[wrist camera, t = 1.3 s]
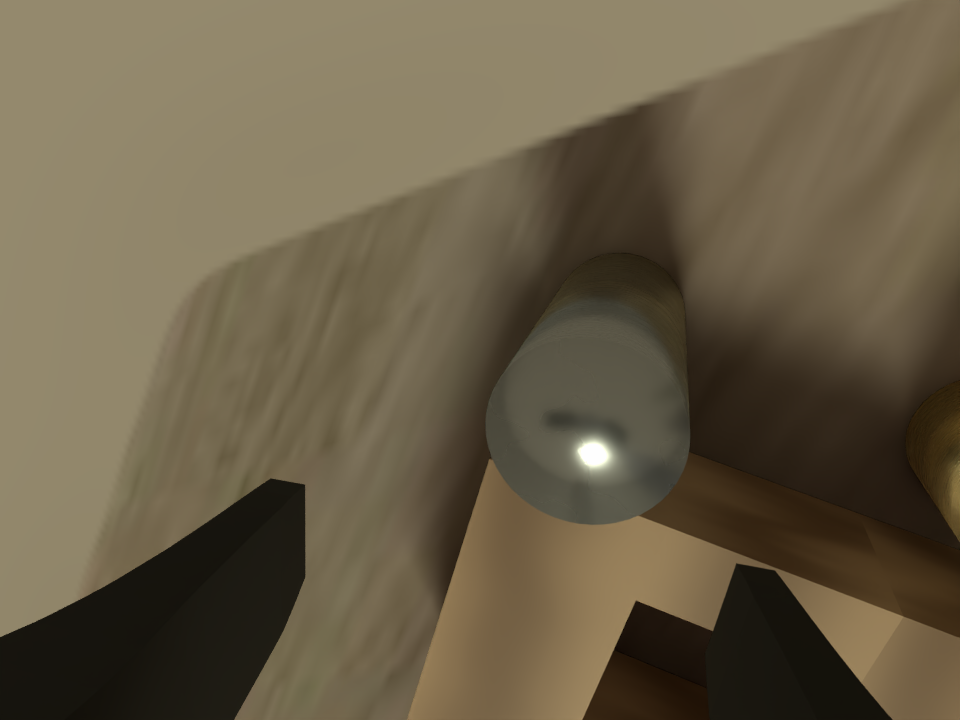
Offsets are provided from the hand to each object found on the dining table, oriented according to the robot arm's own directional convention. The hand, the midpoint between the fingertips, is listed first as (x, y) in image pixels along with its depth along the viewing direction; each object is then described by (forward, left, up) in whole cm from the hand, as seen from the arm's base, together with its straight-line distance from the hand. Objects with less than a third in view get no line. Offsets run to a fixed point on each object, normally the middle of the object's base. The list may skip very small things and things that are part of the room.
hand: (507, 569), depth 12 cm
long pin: (0, -1, -12) cm, 12 cm away
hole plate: (-6, +8, -12) cm, 16 cm away
